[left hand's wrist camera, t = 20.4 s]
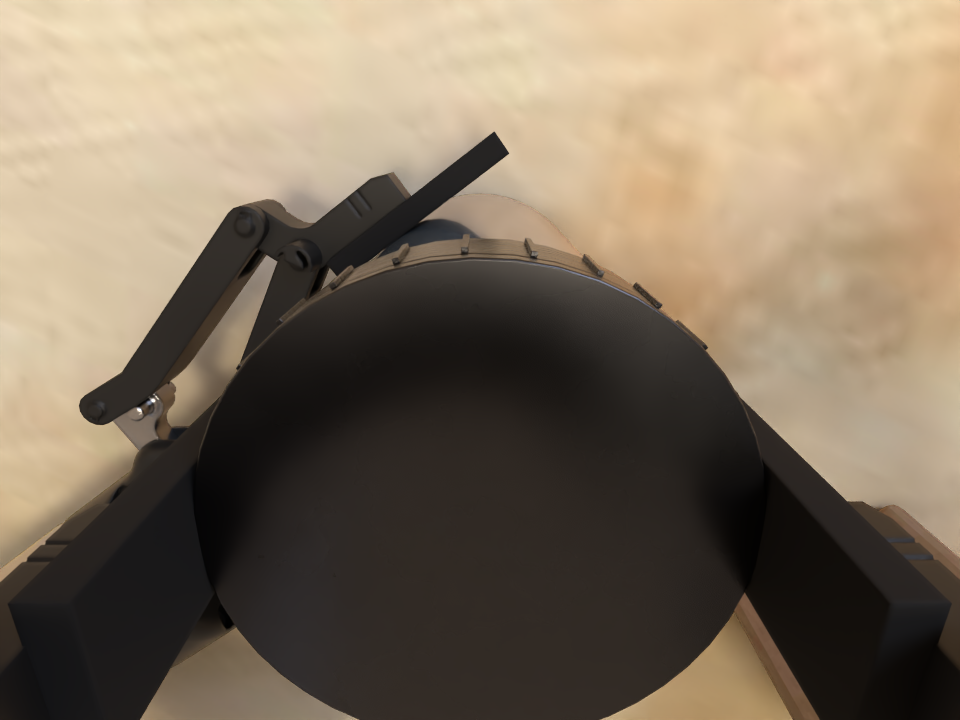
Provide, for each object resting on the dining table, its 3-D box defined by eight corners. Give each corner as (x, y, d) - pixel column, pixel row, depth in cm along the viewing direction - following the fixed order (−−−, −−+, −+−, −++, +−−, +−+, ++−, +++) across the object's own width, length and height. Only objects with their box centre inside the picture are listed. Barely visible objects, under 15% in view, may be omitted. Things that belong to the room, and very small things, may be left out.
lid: (729, 638, 14) (768, 716, 12) (305, 688, 14) (279, 770, 13) (722, 192, 10) (776, 202, 8) (164, 280, 11) (98, 309, 9)
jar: (336, 298, 27) (135, 512, 11) (480, 146, 25) (481, 148, 9) (479, 427, 29) (478, 756, 14) (623, 299, 27) (823, 514, 11)
